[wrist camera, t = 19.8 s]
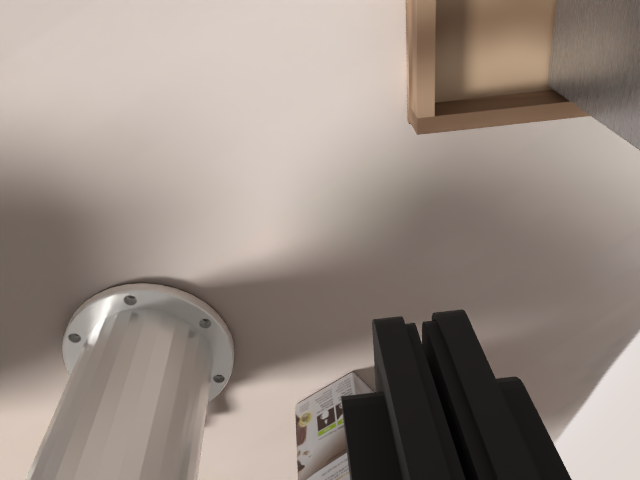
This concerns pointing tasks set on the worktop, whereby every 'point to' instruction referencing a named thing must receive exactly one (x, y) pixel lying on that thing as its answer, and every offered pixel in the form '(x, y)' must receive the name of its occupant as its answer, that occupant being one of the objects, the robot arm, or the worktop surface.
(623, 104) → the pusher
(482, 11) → the wooden tray
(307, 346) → the worktop surface
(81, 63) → the worktop surface
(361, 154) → the worktop surface
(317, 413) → the coffee box
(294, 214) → the worktop surface
